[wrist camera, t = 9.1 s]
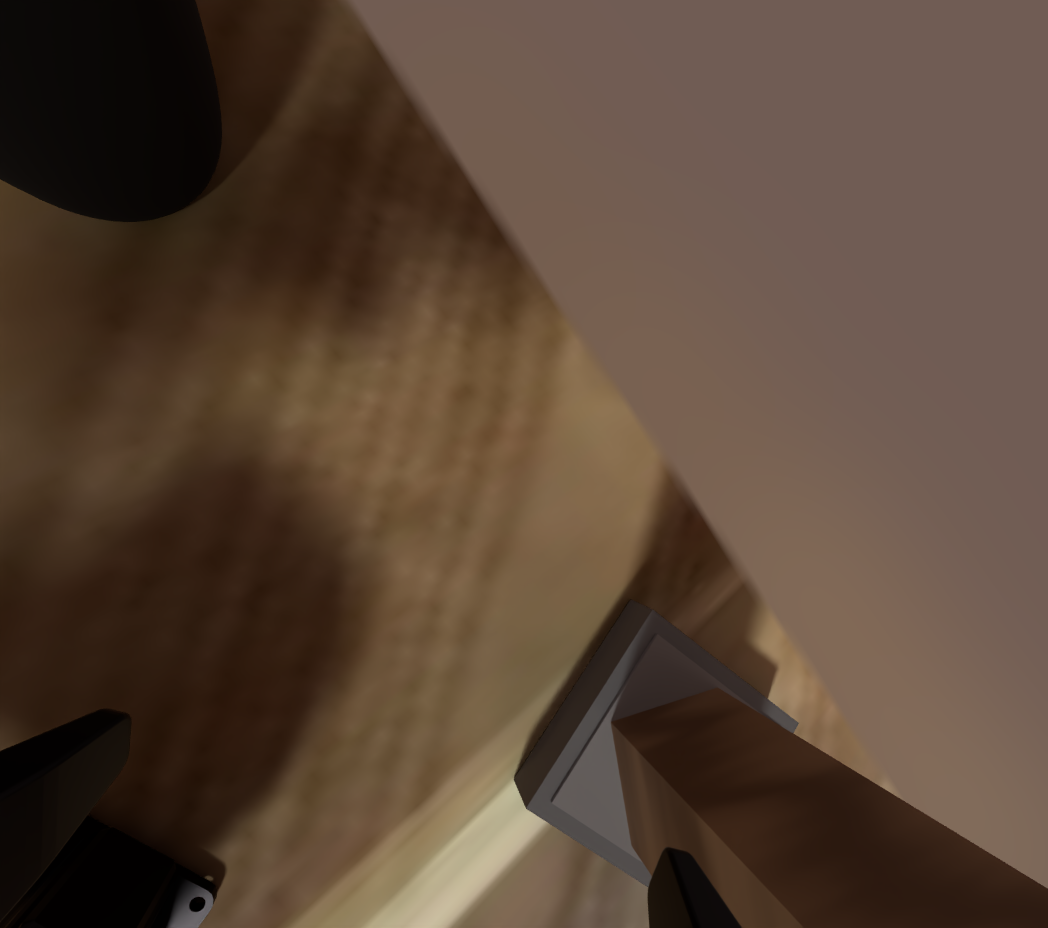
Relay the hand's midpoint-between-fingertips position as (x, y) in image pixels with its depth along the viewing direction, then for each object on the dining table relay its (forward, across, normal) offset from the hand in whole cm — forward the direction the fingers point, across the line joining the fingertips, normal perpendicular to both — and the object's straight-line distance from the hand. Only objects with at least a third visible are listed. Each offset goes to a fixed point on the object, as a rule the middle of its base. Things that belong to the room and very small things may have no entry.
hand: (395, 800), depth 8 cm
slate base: (+13, -10, +8) cm, 18 cm away
